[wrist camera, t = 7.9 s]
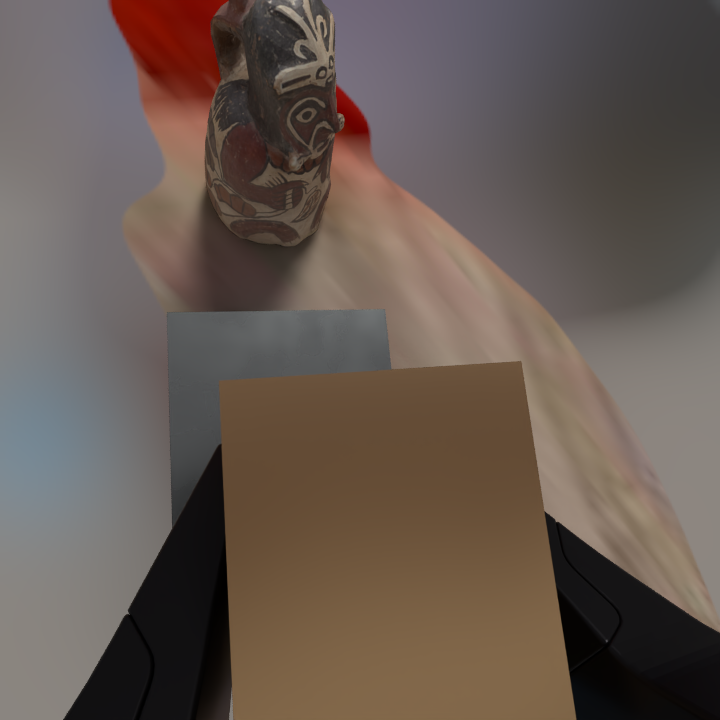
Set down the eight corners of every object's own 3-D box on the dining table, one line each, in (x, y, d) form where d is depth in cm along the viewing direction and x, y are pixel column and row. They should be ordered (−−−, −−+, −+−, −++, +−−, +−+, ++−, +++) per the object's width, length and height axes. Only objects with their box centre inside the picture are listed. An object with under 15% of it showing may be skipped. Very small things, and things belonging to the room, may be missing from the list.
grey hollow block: (380, 565, 22) (415, 606, 17) (195, 606, 19) (175, 668, 14) (358, 331, 24) (384, 309, 19) (186, 336, 21) (166, 312, 16)
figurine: (264, 270, 23) (274, 120, 11) (181, 180, 22) (105, -74, 11) (347, 207, 25) (425, 27, 13) (273, 123, 24) (290, -138, 13)
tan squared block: (354, 525, 15) (582, 762, 5) (251, 544, 14) (241, 916, 3) (343, 401, 16) (521, 361, 5) (244, 409, 15) (219, 380, 4)
